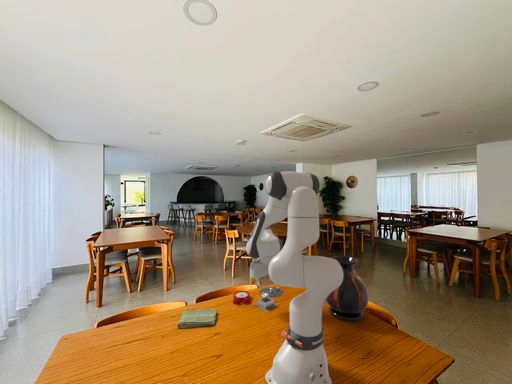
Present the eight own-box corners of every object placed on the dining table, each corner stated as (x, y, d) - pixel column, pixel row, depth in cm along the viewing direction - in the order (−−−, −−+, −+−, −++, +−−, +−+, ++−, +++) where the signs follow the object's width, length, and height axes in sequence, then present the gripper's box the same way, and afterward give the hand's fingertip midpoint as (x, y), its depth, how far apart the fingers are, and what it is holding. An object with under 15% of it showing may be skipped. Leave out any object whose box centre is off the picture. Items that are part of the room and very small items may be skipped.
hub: (271, 302, 122) (271, 295, 122) (254, 293, 134) (254, 287, 134) (288, 294, 132) (288, 288, 132) (271, 287, 143) (271, 281, 144)
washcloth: (215, 327, 100) (215, 320, 100) (176, 330, 98) (176, 323, 98) (217, 312, 113) (216, 306, 113) (182, 315, 111) (182, 308, 111)
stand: (265, 314, 109) (265, 310, 109) (253, 307, 117) (253, 303, 117) (279, 308, 116) (278, 303, 116) (266, 301, 123) (266, 297, 123)
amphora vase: (323, 301, 122) (322, 252, 123) (365, 306, 116) (363, 255, 117) (323, 322, 102) (321, 263, 103) (373, 330, 95) (371, 267, 96)
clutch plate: (265, 309, 112) (265, 303, 112) (256, 304, 118) (256, 298, 118) (274, 305, 116) (274, 300, 116) (264, 300, 122) (264, 295, 122)
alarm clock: (250, 289, 131) (250, 294, 117) (250, 300, 130) (251, 307, 115) (233, 290, 131) (231, 295, 116) (233, 301, 129) (231, 308, 115)
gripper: (254, 262, 108) (254, 290, 108) (281, 254, 121) (282, 279, 121) (246, 260, 113) (247, 286, 113) (274, 252, 126) (274, 276, 126)
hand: (265, 282), depth 117 cm, fingers open, 8 cm apart
